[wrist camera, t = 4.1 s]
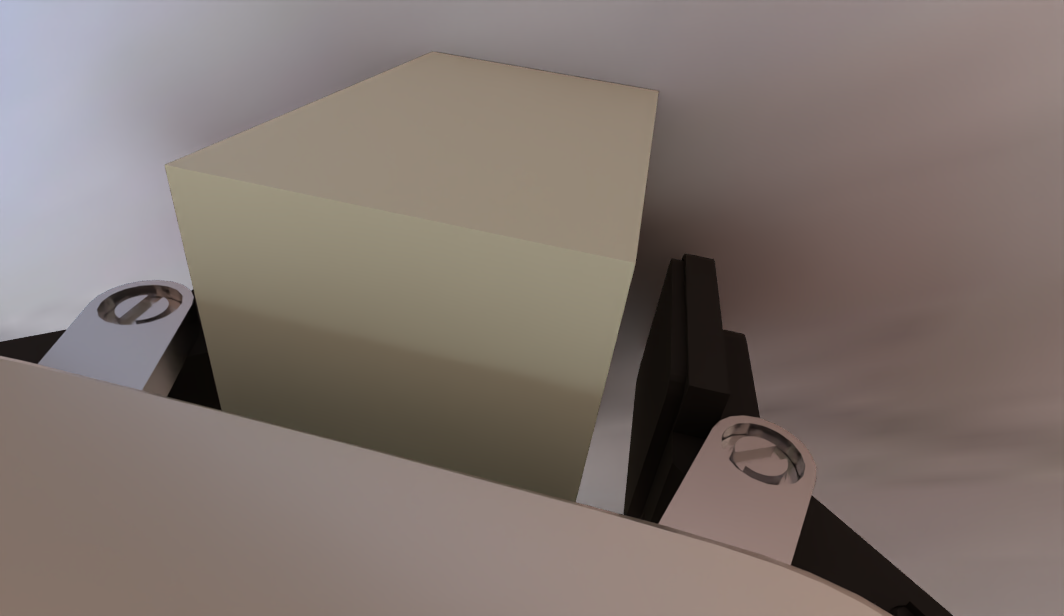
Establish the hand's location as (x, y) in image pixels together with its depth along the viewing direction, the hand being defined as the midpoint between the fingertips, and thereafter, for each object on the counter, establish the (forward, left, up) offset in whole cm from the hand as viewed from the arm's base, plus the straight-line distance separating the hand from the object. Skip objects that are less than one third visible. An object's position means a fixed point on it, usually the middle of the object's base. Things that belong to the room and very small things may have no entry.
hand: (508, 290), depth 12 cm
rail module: (0, 0, -1) cm, 1 cm away
